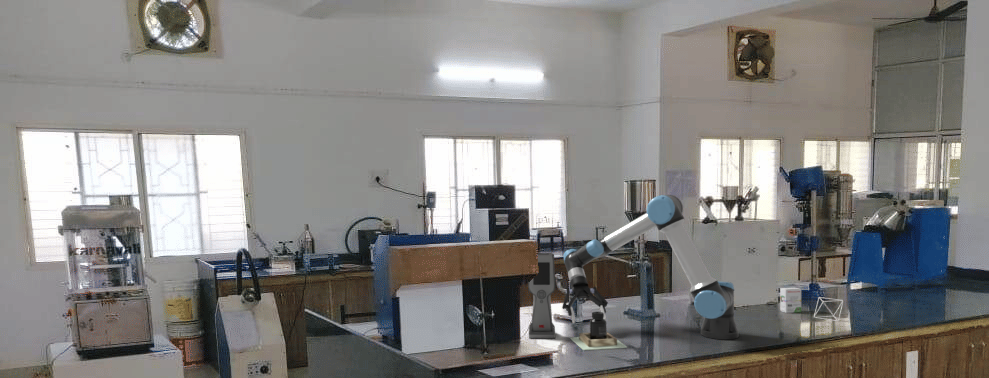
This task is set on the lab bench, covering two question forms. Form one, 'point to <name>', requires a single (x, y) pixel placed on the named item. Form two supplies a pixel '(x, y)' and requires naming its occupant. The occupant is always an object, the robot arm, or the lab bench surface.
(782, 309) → the ink box
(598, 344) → the wooden square frame
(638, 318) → the lab bench surface
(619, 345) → the mat
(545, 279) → the thermal camera
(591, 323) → the supplement bottle
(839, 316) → the geometric polyhedron
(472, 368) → the lab bench surface
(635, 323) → the lab bench surface
